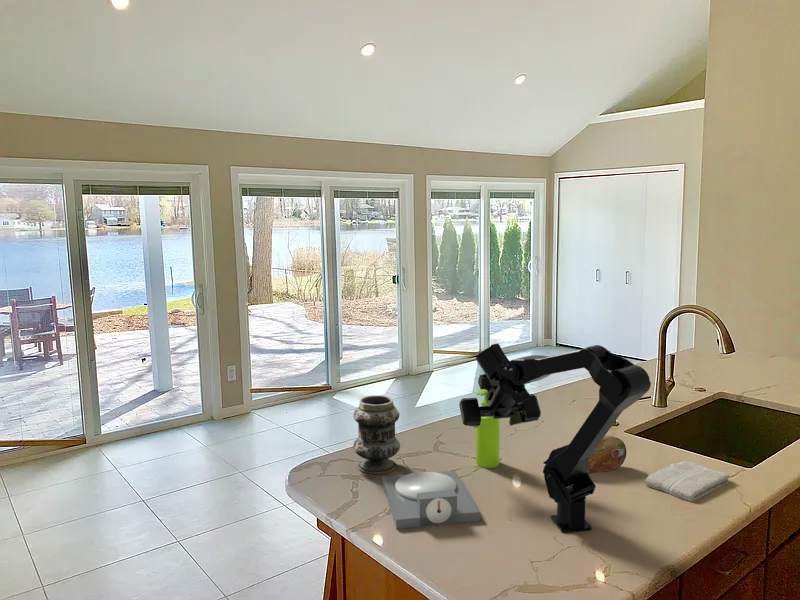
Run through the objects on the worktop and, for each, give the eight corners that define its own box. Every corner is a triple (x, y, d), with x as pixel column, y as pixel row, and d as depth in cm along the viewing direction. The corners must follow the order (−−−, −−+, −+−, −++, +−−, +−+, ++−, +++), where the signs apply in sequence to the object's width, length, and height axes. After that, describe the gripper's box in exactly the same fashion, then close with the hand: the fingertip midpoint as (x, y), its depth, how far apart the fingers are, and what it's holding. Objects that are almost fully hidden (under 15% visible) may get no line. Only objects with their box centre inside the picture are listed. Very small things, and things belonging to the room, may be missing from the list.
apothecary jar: (402, 475, 158) (400, 405, 155) (354, 477, 157) (351, 407, 154) (399, 456, 170) (397, 391, 167) (354, 458, 169) (352, 393, 166)
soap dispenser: (469, 465, 163) (469, 390, 160) (485, 457, 168) (484, 384, 165) (488, 471, 159) (488, 394, 156) (503, 462, 164) (503, 388, 161)
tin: (573, 476, 155) (574, 443, 154) (567, 471, 158) (567, 439, 157) (626, 468, 159) (627, 436, 158) (619, 463, 162) (620, 432, 161)
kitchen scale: (481, 521, 133) (480, 494, 132) (396, 529, 131) (396, 502, 130) (455, 478, 155) (455, 454, 154) (382, 484, 153) (382, 460, 152)
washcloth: (732, 483, 150) (732, 471, 150) (692, 506, 139) (693, 492, 139) (684, 468, 160) (684, 456, 159) (643, 488, 149) (644, 475, 148)
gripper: (537, 362, 150) (520, 393, 163) (460, 366, 148) (450, 398, 160) (549, 403, 144) (531, 433, 156) (469, 409, 141) (457, 439, 153)
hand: (492, 425), depth 157 cm, fingers open, 9 cm apart
